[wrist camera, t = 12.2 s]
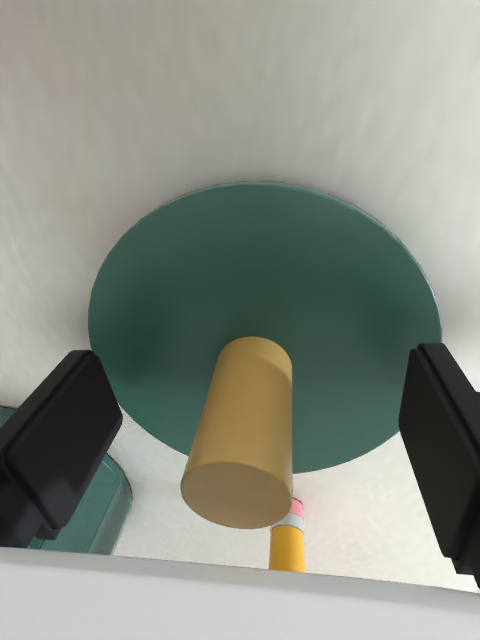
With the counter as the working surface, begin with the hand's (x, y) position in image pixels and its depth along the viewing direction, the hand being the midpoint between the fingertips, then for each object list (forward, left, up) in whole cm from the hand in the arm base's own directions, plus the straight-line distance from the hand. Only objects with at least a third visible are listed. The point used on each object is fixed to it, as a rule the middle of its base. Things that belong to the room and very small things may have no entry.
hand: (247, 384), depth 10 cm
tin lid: (0, 0, -2) cm, 2 cm away
